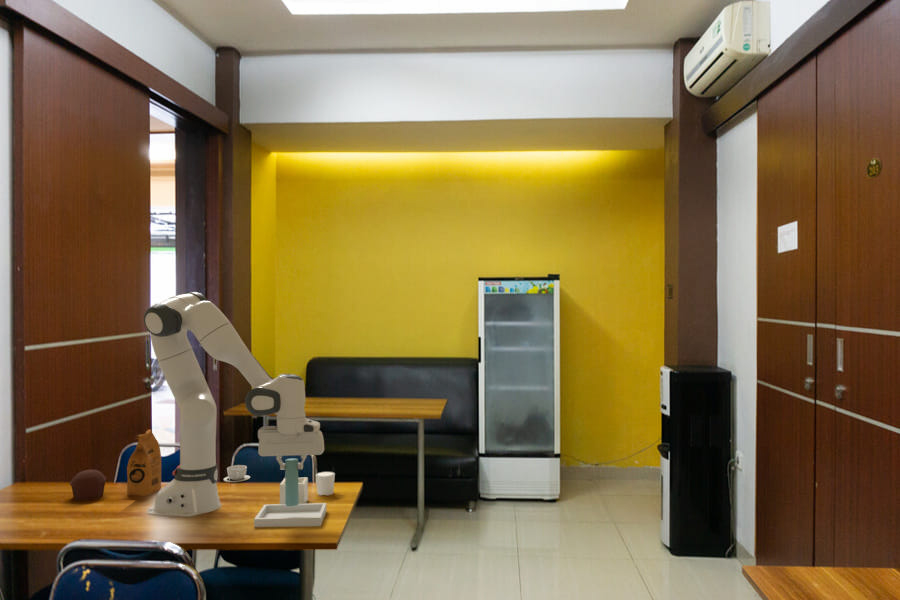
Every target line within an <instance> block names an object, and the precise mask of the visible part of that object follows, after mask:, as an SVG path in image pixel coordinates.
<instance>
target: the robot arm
mask: <svg viewBox="0 0 900 600" xmlns="http://www.w3.org/2000/svg"><path fill="white" fill-rule="evenodd" d="M143 323H144V326H145V328H146V330H147V331H148V332H149V334H150V340H151V345H152V348H153V352H154V355H155V357H156V360H157V362H158V364H159V367H160V369H161V372H162V374H163V375H164V378H165V381H166V383H167V385H168V387H169V389H170V391H171V394H172V396H173V397H174V400H175V402H176V404H177V406H178V408H179V413H180V415H179V416H180V417H179V418H180V419H179V424H180V425H179V431H180V432H179V438H180V439H179V465H178V466H177V467H176V468H175V469H174V470H173V472H172V476H174V478H173V479H172V480H171V481H170V482H169V483H167V484H166V485H164V486H163V487H161V488H160V490H158V491H157V494H156V497H155V500H154V504H152V505H151V506H150V507H149V508H147V511H146V514H147V515H151V516H152V515H153V516H166V517H167V516H168V517H169V516H171V517H185V518H186V517H188V518H190V517H193V516H197V515H201V514H206V513H210V512H213V511H216V510H218V509H220V508H221V507H222V504H221V502H220V497H219V493H218V485H217V481H218V464H217V463H216V461H217V460H216V455H217V454H216V451H217V450H216V449H217V448H216V447H217V445H216V442H217V441H216V440H217V416H218V415H217V414H218V413H217V411H218V410H217V404H216V402H215V399H214V397H213V395H212V392H211V390H210V388H209V385H208V383H207V381H206V378H205V375H204V373H203V371H202V369H201V367H200V364H199V361H198V359H197V357H196V354H195V352H194V350H193V348H192V344H191V343H190V341H189V338H188V335H187V334H188V331H190V332H191V333H192V334H193V335H194V336H195V338H196V340H197V341H198V342H199V344H200V345H201V347H202V348H203V350H205V352H206V353H207V354H208V355H209V356H210V357H212V358H213V359H214V360H217V361H219V362H220V361H221V362H224V363H227V364H229V365H232V366H233V367H235V368H236V369H237V370H239V373H240V374H242V376H243V377H244V378H245V380H246V381H247V382H248V383H249V384H250V386H251V387H252V388H251V389H250V390H249V391H248V392H247V393H246V396H245V400H244V403H245V404H244V405H245V408H246V410H247V411H248V413H250V414H251V415H253V416H255V417H266V416H270V415H273V414H275V415H276V425H269V426H268V425H263V426H262V427H260V428H259V429H258V430H257V438H258V450H257V453H258V455H259V456H260V457H275V458H276V461H277V463H278V464H279V466H280V467H279V470H281V471H282V470H283V471H285V462H283V460H282V458H283V456H284V457H285V456H286V457H287V456H300V459H301V462H298V470H303V468H304V462H305V461H306V459H307V456H320V455H322V454H323V453H324V451H325V439H324V435H323V432H322V431H321V430H320V428H321V423H320V422H319V421H316V420H312V419H310V418H306V411H305V406H306V405H305V404H306V390H305V389H306V388H305V381H304V379H303V378H302V377H301V376H299V375H297V374H293V373H281V374H279V375H278V376H277V377H275V378H273V377H271V376H270V375H269V374H268V372H267V371H266V369H264V367H263V366H262V365H261V364H260V362H259V361H258V360H257V359H256V357H255V356H254V354H252V352H251V351H250V350H249V348H248V347H247V345H246V344H245V342H244V341H243V340H242V338H241V337H240V335H239V333H238V331H236V328H235V327H234V326H233V324H232V323H231V321H230V320H229V319H228V318H227V316H226V315H225V314H224V313H223V312H222V310H221V309H220V308H218V306H216V305H215V304H214V303H213V302H212V301H210V300H208V299H207V297H206V296H205V295H204V294H202V293H201V292H197V291H188V292H185V293H183V294H177V295H173V296H171V297H169V298H168V299H165V300H163V301H160V302H159V303H155V304H153V305H151V306H150V307H149V308H147V310H145V312H144V314H143Z"/></svg>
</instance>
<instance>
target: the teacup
mask: <svg viewBox="0 0 900 600" xmlns="http://www.w3.org/2000/svg"><path fill="white" fill-rule="evenodd" d="M247 469H248V467H247V465H243V464H236V465H231V466H228V467H227V468H226V472H227V476H226V477H224V478H223V481H224V482H226V483H227V482H229V483H237V482H244V481H247V480H250V478H251V476H250V475H247ZM228 479H231V480H228Z"/></svg>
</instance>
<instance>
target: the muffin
mask: <svg viewBox="0 0 900 600" xmlns="http://www.w3.org/2000/svg"><path fill="white" fill-rule="evenodd" d="M107 480H108V479H107V477H106V476H105V475H104V473H102V472H101V471H99V470H98V469H85V470H82V471H80V472H78V473H76V475H74V477H73V478H72V479H71V481H70V482H69V485H70V486H71V491H72V496H73V500H76V501H89V500H94V499H95V500H96V499H98V498H99V499H100V498H101V497H103V496H104V491H105V486H106V485H105V484H106V482H107Z"/></svg>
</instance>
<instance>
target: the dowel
mask: <svg viewBox="0 0 900 600" xmlns="http://www.w3.org/2000/svg"><path fill="white" fill-rule="evenodd" d="M284 463H285V470H284V471H285V472H284V474H285V475H284V478H285V499H286V506H296V505H298V504H299V496H298V478H299V469H298V463H299V459H298V458H287V459H285V460H284Z"/></svg>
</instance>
